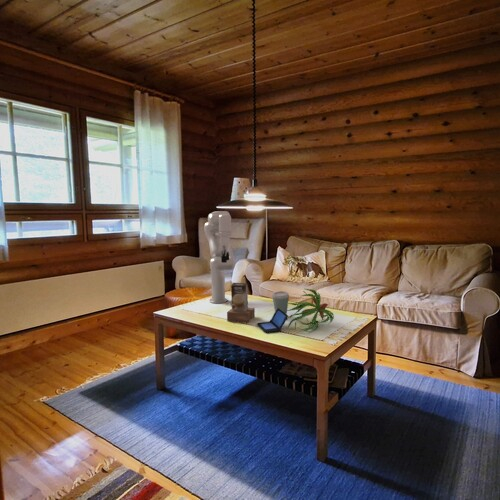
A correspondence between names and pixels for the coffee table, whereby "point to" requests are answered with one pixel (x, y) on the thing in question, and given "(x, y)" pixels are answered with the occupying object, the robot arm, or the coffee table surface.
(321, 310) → the decorative plant
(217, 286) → the robot arm
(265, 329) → the handheld game console
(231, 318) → the walnut block
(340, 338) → the coffee table surface
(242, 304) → the coffee box
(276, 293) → the disposable coffee cup
